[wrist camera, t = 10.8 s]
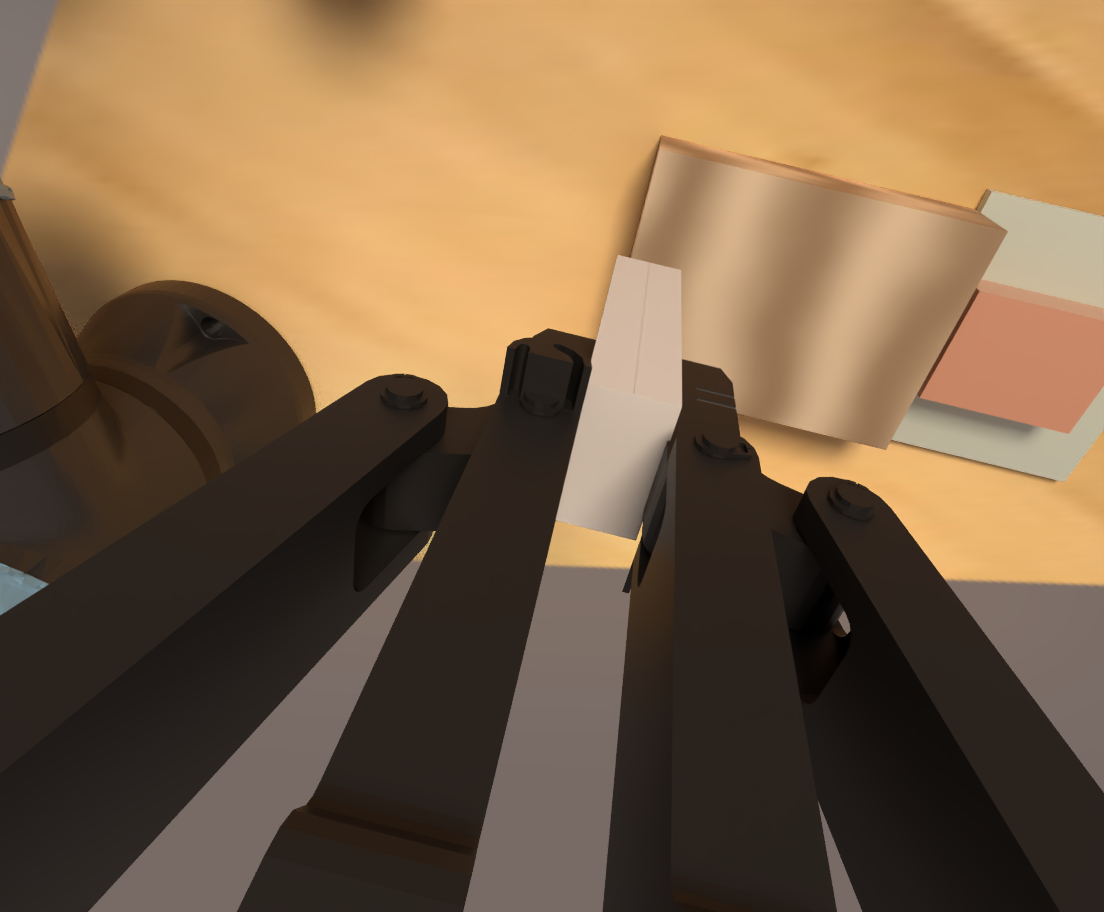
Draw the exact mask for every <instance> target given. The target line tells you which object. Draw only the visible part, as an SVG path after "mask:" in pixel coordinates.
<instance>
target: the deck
mask: <svg viewBox="0 0 1104 912" xmlns="http://www.w3.org/2000/svg"><path fill="white" fill-rule="evenodd" d="M1007 233H1008V231H1007V230H1005V229H1004V228H1002V227H1001V226H999V225H998V224H996V223H995V222H994V221H992V220H991V219H989V218H988V217H986V216H985V215H983V214H982V213H980V212H979V211H977V210H975V209H971V208H966V207H962V206H958V205H954V204H949V203H945V202H941V201H937V200H932V199H928V198H924V197H920V196H915V195H911V194H907V193H903V192H899V191H894V190H890V189H886V188H882V187H877V186H873V185H869V184H865V183H860V182H856V181H852V180H848V179H843V178H839V177H835V176H831V175H826V174H822V173H818V172H814V171H810V170H805V169H801V168H797V167H793V166H788V165H784V164H780V163H776V162H771V161H767V160H763V159H759V158H754V157H750V156H746V155H742V154H737V153H733V152H729V151H725V150H721V149H716V148H712V147H708V146H704V145H699V144H695V143H691V142H687V141H682V140H678V139H674V138H670V137H665V136H661V139H660V143H659V147H658V151H657V154H656V158H655V162H654V166H653V170H652V174H651V178H650V182H649V185H648V189H647V193H646V197H645V201H644V205H643V209H642V213H641V216H640V220H639V224H638V228H637V232H636V236H635V240H634V244H633V247H632V251H631V255H630V258H633V259H637V260H641V261H646V262H650V263H654V264H658V265H662V266H666V267H671V268H675V269H679V270H681V312H682V359H684V360H688V361H692V362H696V363H700V364H704V365H709V366H713V367H717V368H721V369H722V371H723V372H724V373H725V374H726V375H727V377H728V378H729V379H730V380H731V381H732V383H733V389H734V399H735V403H736V408H735V409H736V410H737V414H741V415H745V416H749V417H753V418H757V419H762V420H766V421H770V422H774V423H778V424H782V425H786V426H790V427H794V428H798V429H802V430H806V431H810V432H815V433H819V434H823V435H827V436H831V437H835V438H839V439H843V440H847V441H851V442H855V443H859V444H864V445H868V446H872V447H876V448H880V449H884V450H886V448H887V447H888V445H889V443H890V441H891V439H892V438H893V436H894V434H895V432H896V430H897V429H898V427H899V425H900V423H901V422H902V420H903V418H904V416H905V414H906V413H907V411H908V409H909V407H910V406H911V404H912V402H913V400H914V398H915V397H916V395H917V393H918V391H919V389H920V388H921V386H922V384H923V382H924V381H925V379H926V377H927V375H928V373H929V372H930V370H931V368H932V366H933V365H934V363H935V361H936V359H937V357H938V356H939V354H940V352H941V350H942V348H943V347H944V345H945V343H946V341H947V340H948V338H949V336H950V334H951V332H952V331H953V329H954V327H955V325H956V323H957V322H958V320H959V318H960V316H961V315H962V313H963V311H964V309H965V307H966V306H967V304H968V302H969V300H970V299H971V297H972V295H973V293H974V291H975V290H976V288H977V286H978V284H979V282H980V281H981V279H982V277H983V275H984V274H985V272H986V270H987V268H988V266H989V265H990V263H991V261H992V259H993V257H994V256H995V254H996V252H997V250H998V249H999V247H1000V245H1001V243H1002V241H1003V240H1004V238H1005V236H1006V234H1007Z"/></svg>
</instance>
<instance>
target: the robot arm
mask: <svg viewBox="0 0 1104 912" xmlns="http://www.w3.org/2000/svg"><path fill="white" fill-rule="evenodd" d="M12 200H15V197H14V193H13V191H12V189H11V188H10V187H8V186H6V185H4V184H3V182H2V180H1V178H0V912H88V911H89V910H90V909H91V908H92V907H93V906H94V904H96V902H97V901H98V900H99V899H100V898H101V897H102V896H103V895H104V894H105V893H106V891H107V890H108V889H109V888H110V887H111V886H112V885H113V884H114V883H115V882H116V881H117V879H119V877H120V876H121V875H122V874H123V873H124V872H125V871H126V870H127V869H128V868H129V867H130V865H131V864H132V863H133V862H134V861H135V860H136V859H137V858H138V857H139V856H140V855H141V854H142V853H143V851H144V850H145V849H146V848H147V847H148V846H149V845H150V844H151V843H152V842H153V841H154V839H155V838H156V837H157V836H158V835H159V834H160V833H161V832H162V831H163V830H164V829H165V828H166V826H167V825H168V824H169V823H170V822H171V821H172V820H173V819H174V818H175V817H176V816H177V815H178V813H179V812H180V811H181V810H182V809H183V808H184V807H185V806H186V805H187V804H188V803H189V802H190V800H191V799H192V798H193V797H194V796H195V795H196V794H197V793H198V792H199V791H200V790H201V789H202V787H203V786H204V785H205V784H206V783H207V782H208V781H209V780H210V779H211V778H212V777H213V775H214V774H215V773H216V772H217V771H218V770H219V769H220V768H221V767H222V766H223V765H224V764H225V762H226V761H227V760H228V759H229V758H230V757H231V756H232V755H233V754H234V753H235V752H236V751H237V749H238V748H239V747H240V746H241V745H242V744H243V743H244V742H245V741H246V740H247V738H249V736H250V735H251V734H252V733H253V732H254V731H255V730H256V729H257V728H258V727H259V726H260V724H261V723H262V722H263V721H264V720H265V719H266V718H267V717H268V716H269V715H270V714H271V713H272V711H273V710H274V709H275V708H276V707H277V706H278V705H279V704H280V703H281V702H282V701H283V700H284V698H285V697H286V696H287V695H288V694H289V693H290V692H291V691H292V690H293V689H294V688H295V686H296V685H297V684H298V683H299V682H300V681H301V680H302V679H303V678H304V677H305V676H306V675H307V673H308V672H309V671H310V670H311V669H312V668H313V667H314V666H315V665H316V663H318V662H319V660H320V659H321V658H322V657H323V656H324V655H325V654H326V653H327V652H328V651H329V650H330V649H331V647H332V646H333V645H334V644H335V643H336V642H337V641H338V640H339V639H340V638H341V636H342V635H343V634H344V633H345V632H346V631H347V630H348V629H349V628H350V627H351V626H352V625H353V624H354V622H355V621H356V620H357V619H358V618H359V617H360V616H361V615H362V614H363V613H364V612H365V610H366V609H367V608H368V607H369V606H370V605H371V604H372V603H373V602H374V601H375V599H376V598H377V597H378V596H379V595H380V594H381V593H382V592H383V591H384V590H385V589H386V588H387V587H388V586H389V584H390V583H391V582H392V581H393V580H394V579H395V578H396V577H397V576H398V575H399V574H400V573H401V571H402V570H403V569H404V568H405V567H406V566H407V565H408V564H409V563H410V562H411V561H412V560H413V558H414V557H415V556H416V555H417V554H418V553H419V552H420V551H421V550H422V549H423V548H424V546H425V545H426V544H427V543H428V541H429V539H430V537H431V536H432V532H433V531H436V532H435V534H434V537H433V539H432V541H431V543H430V545H429V547H428V550H427V552H426V554H425V556H424V558H423V560H422V563H421V565H420V567H419V569H418V571H417V573H416V576H415V578H414V580H413V582H412V585H411V586H410V589H409V591H408V593H407V595H406V597H405V600H404V602H403V604H402V606H401V608H400V610H399V613H398V615H397V617H396V619H395V621H394V623H393V625H392V627H391V630H390V632H389V634H388V636H387V638H386V641H385V643H384V645H383V647H382V649H381V651H380V653H379V656H378V658H377V660H376V662H375V664H374V667H373V669H372V671H371V673H370V675H369V677H368V680H367V682H366V684H365V686H364V688H363V690H362V692H361V695H360V697H359V699H358V701H357V704H356V706H355V708H354V710H353V712H352V714H351V716H350V718H349V720H348V723H347V725H346V727H345V729H344V731H343V733H342V736H341V738H340V740H339V742H338V744H337V747H336V749H335V751H334V753H333V755H332V757H331V759H330V762H329V764H328V766H327V768H326V770H325V773H324V775H323V777H322V779H321V781H320V783H319V785H318V787H317V789H316V791H315V793H314V795H313V797H312V798H311V799H310V800H309V802H308V803H307V805H305V806H302V807H300V808H297V809H294V810H293V811H292V812H291V813H290V815H289V816H288V817H287V818H286V820H285V821H284V823H283V824H282V825H281V826H280V828H279V830H278V832H277V834H276V835H275V837H274V839H273V841H272V843H271V844H270V846H269V848H268V850H267V852H266V853H265V855H264V857H263V859H262V862H261V864H260V866H259V868H258V870H257V872H256V874H255V876H254V878H253V880H252V882H251V884H250V886H249V888H248V890H247V892H246V894H245V896H244V898H243V901H242V902H241V905H240V907H239V909H238V911H237V912H463V910H464V906H465V901H466V897H467V893H468V888H469V884H470V880H471V876H472V871H473V867H474V862H475V858H476V853H477V848H478V844H479V839H480V835H481V831H482V826H483V822H484V818H485V814H486V810H487V805H488V801H489V797H490V793H491V789H492V785H493V780H494V776H495V772H496V768H497V763H498V759H499V755H500V751H501V747H502V743H503V738H504V734H505V730H506V726H507V722H508V717H509V713H510V709H511V705H512V701H513V696H514V692H515V688H516V684H517V680H518V675H519V671H520V667H521V663H522V659H523V654H524V650H525V646H526V641H527V637H528V633H529V629H530V625H531V621H532V617H533V613H534V608H535V604H536V600H537V596H538V591H539V587H540V583H541V579H542V575H543V571H544V566H545V562H546V558H547V554H548V550H549V545H550V541H551V537H552V533H553V529H554V524H555V520H556V521H560V522H564V523H568V524H572V525H576V526H580V527H584V528H588V529H592V530H596V531H600V532H604V533H608V534H612V535H616V536H620V537H624V538H628V539H632V540H636V539H637V536H638V533H639V530H640V527H641V524H642V521H643V527H642V537H641V540H640V542H639V545H638V548H637V551H636V554H635V557H634V560H633V562H632V565H631V568H630V571H629V574H628V577H627V580H626V583H625V586H624V588H623V591H622V592H625V593H629V592H630V589H631V595H630V608H629V618H628V629H627V640H626V652H625V665H624V674H623V675H624V676H623V686H622V697H621V709H620V721H619V731H618V744H617V754H616V767H615V778H614V789H613V800H612V812H611V823H610V835H609V845H608V846H609V847H608V857H607V868H606V880H605V891H604V902H603V912H837V909H836V904H835V898H834V892H833V886H832V881H831V874H830V870H829V863H828V857H827V851H826V845H825V840H824V834H823V828H822V822H821V816H820V810H819V805H818V801H819V804H820V806H821V809H822V811H823V814H824V816H825V819H826V821H827V824H828V826H829V829H830V831H831V834H832V836H833V839H834V841H835V844H836V846H837V849H838V851H839V854H840V857H841V859H842V862H843V864H844V867H845V869H846V871H847V874H848V876H849V879H850V881H851V884H852V886H853V889H854V892H855V894H856V896H857V899H858V901H859V904H860V906H861V909H862V912H1104V793H1103V791H1102V790H1101V789H1100V787H1099V786H1098V785H1097V783H1096V782H1095V780H1094V779H1093V778H1092V776H1091V775H1090V774H1089V772H1088V771H1087V770H1086V769H1085V767H1084V766H1083V764H1082V763H1081V762H1080V760H1079V759H1078V758H1077V756H1076V755H1075V754H1074V752H1073V751H1072V750H1071V748H1070V747H1069V746H1068V744H1067V743H1066V742H1065V740H1064V739H1063V738H1062V736H1061V735H1060V734H1059V732H1058V731H1057V730H1056V728H1055V727H1054V726H1053V724H1052V723H1051V722H1050V720H1049V719H1048V718H1047V716H1046V715H1045V714H1044V712H1043V711H1042V710H1041V708H1040V707H1039V706H1038V704H1037V703H1036V702H1035V700H1034V699H1033V698H1032V696H1031V695H1030V693H1029V692H1028V691H1027V689H1026V688H1025V687H1024V686H1023V684H1022V683H1021V682H1020V680H1019V679H1018V677H1017V676H1016V675H1015V674H1014V672H1013V671H1012V669H1011V668H1010V667H1009V665H1008V664H1007V663H1006V662H1005V660H1004V659H1003V658H1002V656H1001V655H1000V653H999V652H998V651H997V649H996V648H995V647H994V645H993V644H992V643H991V641H990V640H989V639H988V637H987V636H986V635H985V634H984V632H983V631H982V629H981V628H980V627H979V626H978V624H977V623H976V621H975V620H974V619H973V617H972V616H971V615H970V613H969V612H968V611H967V609H966V608H965V607H964V605H963V604H962V602H961V601H960V600H959V599H958V597H957V596H956V594H955V593H954V592H953V591H952V589H951V588H950V586H949V585H948V584H947V582H946V581H945V580H944V578H943V577H942V576H941V574H940V573H939V572H938V570H937V569H936V568H935V566H934V565H933V564H932V562H931V561H930V560H929V558H928V557H927V556H926V554H925V553H924V552H923V550H922V549H921V548H920V546H919V545H918V544H917V542H916V541H915V540H914V538H913V537H912V536H911V534H910V533H909V532H908V530H907V529H906V528H905V526H904V525H903V524H902V522H901V521H900V520H899V518H898V517H897V515H896V514H895V513H894V511H893V510H892V509H891V508H890V507H889V506H888V505H887V504H886V503H885V502H884V501H883V500H882V499H881V498H880V497H879V496H877V495H876V494H874V493H873V492H871V491H870V490H869V489H868V488H866V487H865V486H863V485H861V484H856V482H853V481H850V480H844V479H839V478H835V477H818V478H816V479H814V480H812V481H810V482H809V484H808V486H807V488H806V490H805V492H804V494H802V493H800V492H798V491H795V490H793V489H791V488H789V487H786V486H784V485H782V484H780V483H778V482H776V481H774V480H772V479H770V478H768V477H767V476H765V475H764V474H762V473H761V467H760V462H759V457H758V455H757V453H756V451H755V449H754V447H753V446H752V445H750V444H749V443H748V442H747V441H746V440H745V439H744V438H742V437H740V431H739V424H738V417H737V410H736V409H735V408H736V403H735V399H734V389H733V383H732V381H731V380H730V379H729V378H728V377H727V375H726V374H725V373H724V372H723V371H722V369H721V368H717V367H713V366H709V365H704V364H700V363H696V362H692V361H688V360H684V359H682V312H681V270H679V269H675V268H671V267H666V266H662V265H658V264H654V263H650V262H646V261H641V260H637V259H633V258H629V257H625V256H621V255H618V256H617V260H616V264H615V268H614V272H613V276H612V280H611V284H610V288H609V292H608V296H607V300H606V304H605V308H604V312H603V316H602V319H601V323H600V327H599V331H598V335H597V339H596V340H594V339H590V338H585V337H581V336H577V335H573V334H569V333H565V332H561V331H557V330H553V329H549V328H548V329H546V330H544V331H542V332H541V333H539V334H537V335H535V336H533V338H523V339H520V340H516V341H513V342H512V343H511V344H510V345H509V346H508V347H507V352H506V358H505V364H504V370H503V376H502V382H501V388H500V394H499V396H498V398H497V400H496V402H495V404H493V405H490V406H486V407H480V408H455V407H448V398H447V394H446V393H445V392H444V391H443V390H442V388H441V387H440V386H438V385H436V384H435V383H433V382H431V381H429V380H427V379H423V378H420V377H416V376H414V375H409V374H406V375H404V374H392V375H384V376H378V377H376V378H373V379H371V380H369V381H366V382H365V383H363V384H362V385H360V386H358V387H357V388H355V389H354V390H352V391H351V392H349V393H348V394H346V395H344V396H343V397H341V398H340V399H338V400H337V401H335V402H333V403H332V404H330V405H329V406H327V407H326V408H324V409H322V410H321V411H319V412H318V413H316V414H315V403H314V398H313V393H312V390H311V386H310V383H309V380H308V378H307V376H306V373H305V371H304V369H303V367H302V365H301V363H300V362H299V360H298V358H297V356H296V355H295V353H294V352H293V350H292V349H291V348H290V346H289V345H288V344H287V342H286V341H285V340H284V339H283V338H282V336H281V335H280V334H279V333H278V332H277V331H276V330H275V329H274V328H273V327H272V326H271V325H270V324H269V323H268V322H267V321H266V320H265V319H263V318H262V317H261V316H260V315H259V314H257V313H256V312H255V311H253V310H252V309H251V308H249V307H248V306H246V305H245V304H243V303H242V302H240V301H238V300H236V299H235V298H233V297H231V296H229V295H227V294H225V293H223V292H220V291H218V290H216V289H213V288H210V287H207V286H204V285H200V284H196V283H192V282H185V281H175V280H165V281H156V282H151V283H147V284H144V285H141V286H138V287H136V288H134V289H132V290H130V291H128V292H126V293H124V294H122V295H120V296H119V297H117V298H115V299H113V300H111V301H110V302H108V303H107V304H105V305H104V306H103V307H102V308H100V309H99V310H98V311H97V312H96V313H95V314H94V315H93V316H92V317H91V319H90V320H89V322H88V323H87V324H86V326H85V327H84V328H83V330H82V331H81V333H80V334H79V335H78V337H77V338H75V336H74V333H73V331H72V329H71V327H70V325H69V323H68V321H67V319H66V316H65V314H64V312H63V310H62V308H61V306H60V304H59V302H58V299H57V297H56V295H55V293H54V291H53V289H52V287H51V285H50V282H49V280H48V278H47V276H46V274H45V272H44V270H43V268H42V265H41V263H40V261H39V259H38V257H37V255H36V253H35V251H34V248H33V246H32V244H31V242H30V240H29V238H28V236H27V234H26V231H25V229H24V227H23V225H22V223H21V221H20V218H19V216H18V214H17V212H16V209H15V207H14V205H13V203H12ZM843 611H845V613H846V615H847V618H848V620H849V623H850V630H851V631H850V632H849V633H848V634H846V632H845V631H844V630H843V628H842V626H841V624H840V622H839V621H838V619H839V617H840V616H841V614H842V612H843Z"/></svg>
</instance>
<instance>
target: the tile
mask: <svg viewBox="0 0 1104 912" xmlns="http://www.w3.org/2000/svg"><path fill="white" fill-rule="evenodd" d="M1103 386H1104V308H1100V307H1096V306H1092V305H1088V304H1083V303H1079V302H1075V301H1071V300H1067V299H1062V298H1058V297H1054V296H1050V295H1046V294H1041V293H1037V292H1033V291H1029V290H1025V289H1020V288H1016V287H1012V286H1008V285H1003V284H999V283H995V282H991V281H987V280H982V279H981V281H980V282H979V284H978V286H977V288H976V290H975V291H974V293H973V295H972V297H971V299H970V300H969V302H968V304H967V306H966V307H965V309H964V311H963V313H962V315H961V316H960V318H959V320H958V322H957V323H956V325H955V327H954V329H953V331H952V332H951V334H950V336H949V338H948V340H947V341H946V343H945V345H944V347H943V348H942V350H941V352H940V354H939V356H938V357H937V359H936V361H935V363H934V365H933V366H932V368H931V370H930V372H929V373H928V375H927V377H926V379H925V381H924V382H923V384H922V386H921V388H920V389H919V391H918V393H917V394H918V396H919V398H922V399H926V400H931V401H935V402H939V403H943V404H947V405H951V406H955V407H959V408H964V409H968V410H972V411H976V412H980V413H984V414H988V415H992V416H997V417H1001V418H1005V419H1009V420H1013V421H1017V422H1021V423H1025V424H1030V425H1034V426H1038V427H1042V428H1046V429H1050V430H1054V431H1058V432H1063V433H1067V434H1069V433H1070V432H1071V430H1072V429H1073V427H1074V426H1075V425H1076V423H1077V422H1078V421H1079V419H1080V418H1081V417H1082V415H1083V414H1084V412H1085V411H1086V410H1087V408H1088V407H1089V406H1090V404H1091V403H1092V401H1093V400H1094V399H1095V397H1096V396H1097V395H1098V393H1099V392H1100V391H1101V389H1102V388H1103Z"/></svg>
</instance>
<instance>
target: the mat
mask: <svg viewBox="0 0 1104 912" xmlns="http://www.w3.org/2000/svg"><path fill="white" fill-rule="evenodd" d="M977 211H979V212H980V213H982V214H983V215H985V216H986V217H988V218H989V219H991V220H992V221H994V222H995V223H996V224H998V225H999V226H1001V227H1002V228H1004V229H1005V230H1007V231H1008V233H1007V234H1006V236H1005V238H1004V240H1003V241H1002V243H1001V245H1000V247H999V249H998V250H997V252H996V254H995V256H994V257H993V259H992V261H991V263H990V265H989V266H988V268H987V270H986V272H985V274H984V275H983V277H982V280H987V281H991V282H995V283H999V284H1003V285H1008V286H1012V287H1016V288H1020V289H1025V290H1029V291H1033V292H1037V293H1041V294H1046V295H1050V296H1054V297H1058V298H1062V299H1067V300H1071V301H1075V302H1079V303H1083V304H1088V305H1092V306H1096V307H1100V308H1104V216H1101V215H1097V214H1093V213H1088V212H1084V211H1080V210H1076V209H1071V208H1067V207H1063V206H1059V205H1054V204H1050V203H1046V202H1042V201H1037V200H1033V199H1029V198H1025V197H1020V196H1016V195H1012V194H1008V193H1003V192H999V191H995V190H991V189H987V190H986V192H985V194H984V196H983V198H982V200H981V202H980V204H979V206H978V208H977ZM1103 430H1104V386H1103V388H1102V389H1101V391H1100V392H1099V393H1098V395H1097V396H1096V397H1095V399H1094V400H1093V401H1092V403H1091V404H1090V406H1089V407H1088V408H1087V410H1086V411H1085V412H1084V414H1083V415H1082V417H1081V418H1080V419H1079V421H1078V422H1077V423H1076V425H1075V426H1074V427H1073V429H1072V430H1071V432H1070V433H1069V434H1067V433H1063V432H1058V431H1054V430H1050V429H1046V428H1042V427H1038V426H1034V425H1030V424H1025V423H1021V422H1017V421H1013V420H1009V419H1005V418H1001V417H997V416H992V415H988V414H984V413H980V412H976V411H972V410H968V409H964V408H959V407H955V406H951V405H947V404H943V403H939V402H935V401H931V400H926V399H922V398H919V396H918V394H917V395H916V397H915V398H914V400H913V402H912V404H911V406H910V407H909V409H908V411H907V413H906V414H905V416H904V418H903V420H902V422H901V423H900V425H899V427H898V429H897V430H896V432H895V434H894V436H893V438H892V439H891V440H894V441H899V442H903V443H907V444H911V445H915V446H919V447H923V448H927V449H931V450H935V451H939V452H943V453H948V454H952V455H956V456H960V457H964V458H968V459H972V460H976V461H980V462H984V463H988V464H993V465H997V466H1001V467H1005V468H1009V469H1013V470H1017V471H1021V472H1025V473H1029V474H1033V475H1037V476H1042V477H1046V478H1050V479H1054V480H1058V481H1062V482H1064V481H1065V480H1066V479H1067V477H1068V476H1069V475H1070V473H1071V472H1072V471H1073V470H1074V468H1075V467H1076V466H1077V464H1078V463H1079V462H1080V460H1081V459H1082V458H1083V456H1084V455H1085V454H1086V452H1087V451H1088V450H1089V449H1090V447H1091V446H1092V445H1093V443H1094V442H1095V441H1096V439H1097V438H1098V437H1099V435H1100V434H1101V433H1102V431H1103Z"/></svg>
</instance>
